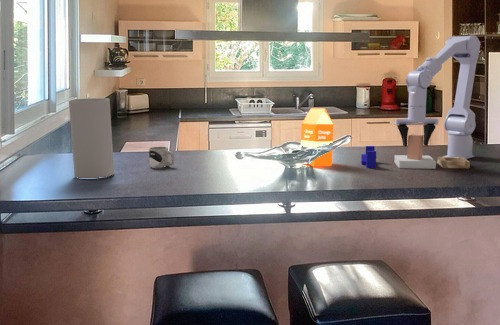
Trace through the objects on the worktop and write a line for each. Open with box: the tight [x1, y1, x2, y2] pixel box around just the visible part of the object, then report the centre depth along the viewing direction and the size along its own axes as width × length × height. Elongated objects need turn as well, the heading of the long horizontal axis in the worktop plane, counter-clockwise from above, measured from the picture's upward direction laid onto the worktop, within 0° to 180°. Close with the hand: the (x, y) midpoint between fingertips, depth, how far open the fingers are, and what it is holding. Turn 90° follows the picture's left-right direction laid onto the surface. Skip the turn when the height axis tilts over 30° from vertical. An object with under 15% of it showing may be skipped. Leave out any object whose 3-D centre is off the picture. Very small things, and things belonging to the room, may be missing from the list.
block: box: [406, 133, 424, 160], centre depth 186 cm, size 4×4×8 cm
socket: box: [436, 156, 471, 169], centre depth 185 cm, size 9×9×2 cm
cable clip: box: [360, 145, 377, 170], centre depth 188 cm, size 12×4×6 cm, turn 170°
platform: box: [394, 154, 437, 170], centre depth 187 cm, size 12×11×2 cm
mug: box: [148, 146, 176, 167], centre depth 189 cm, size 10×7×7 cm, turn 62°
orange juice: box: [300, 107, 334, 167], centre depth 189 cm, size 8×9×20 cm
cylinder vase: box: [68, 97, 115, 179], centre depth 174 cm, size 12×12×25 cm
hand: (415, 145), depth 186 cm, fingers open, 7 cm apart
